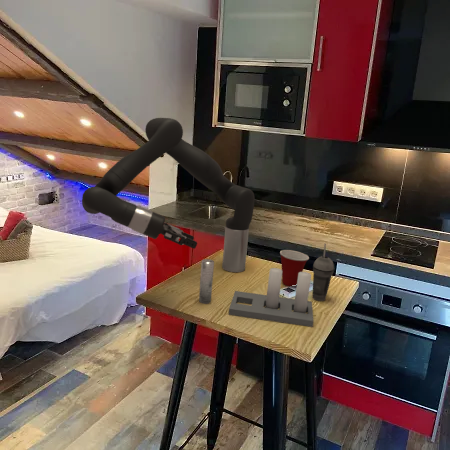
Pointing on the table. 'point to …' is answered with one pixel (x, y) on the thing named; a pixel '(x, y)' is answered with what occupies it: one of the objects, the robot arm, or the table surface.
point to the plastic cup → (292, 266)
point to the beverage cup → (322, 276)
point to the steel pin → (206, 281)
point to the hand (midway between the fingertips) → (194, 242)
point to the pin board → (276, 302)
